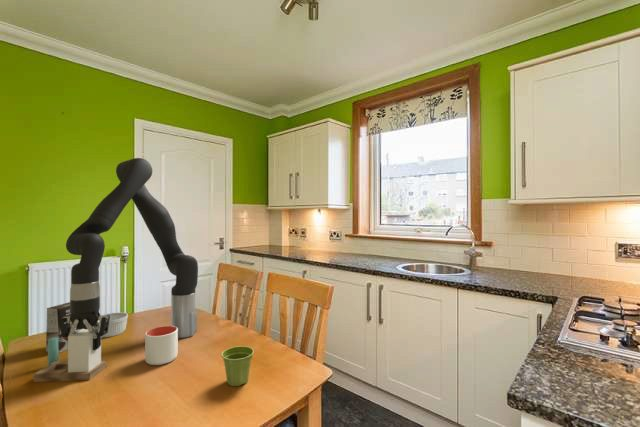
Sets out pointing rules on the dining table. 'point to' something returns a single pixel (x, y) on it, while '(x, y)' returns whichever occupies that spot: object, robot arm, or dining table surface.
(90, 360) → the block
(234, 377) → the plant pot
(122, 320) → the ramekin
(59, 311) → the coffee box
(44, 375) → the board
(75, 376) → the board
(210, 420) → the dining table surface
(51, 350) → the pin
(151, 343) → the cup
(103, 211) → the robot arm
